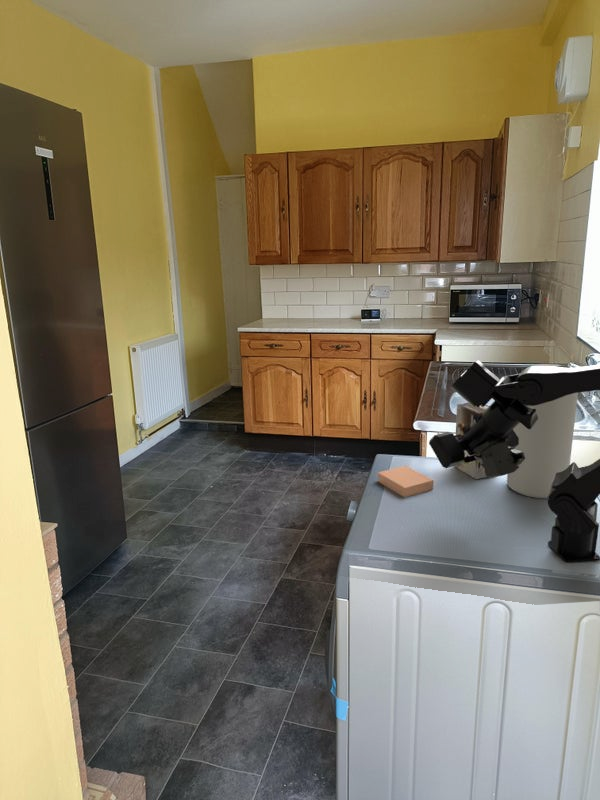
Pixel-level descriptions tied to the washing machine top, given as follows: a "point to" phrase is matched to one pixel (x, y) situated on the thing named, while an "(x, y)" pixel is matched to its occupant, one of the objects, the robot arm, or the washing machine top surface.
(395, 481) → the block
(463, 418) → the coffee box
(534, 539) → the washing machine top surface
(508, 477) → the cylinder vase
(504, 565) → the washing machine top surface
